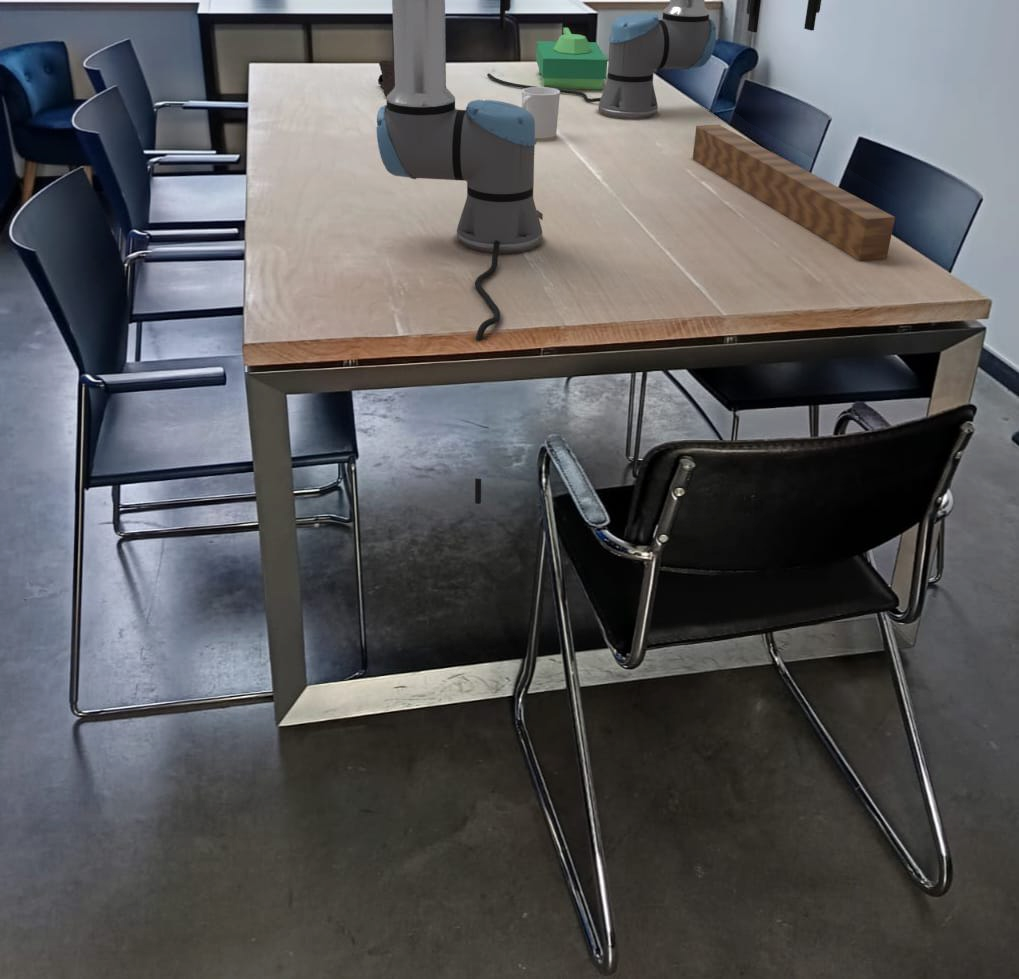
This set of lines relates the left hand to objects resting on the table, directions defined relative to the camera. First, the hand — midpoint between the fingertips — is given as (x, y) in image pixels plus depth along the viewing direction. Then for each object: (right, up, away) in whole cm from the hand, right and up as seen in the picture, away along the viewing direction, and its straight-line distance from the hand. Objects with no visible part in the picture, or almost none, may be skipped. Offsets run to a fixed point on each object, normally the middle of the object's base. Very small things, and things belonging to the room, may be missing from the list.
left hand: (469, 27), depth 224 cm
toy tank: (+25, +25, +94) cm, 101 cm away
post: (+62, -37, -5) cm, 72 cm away
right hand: (+66, +3, +8) cm, 67 cm away
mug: (+15, -11, +35) cm, 40 cm away
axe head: (-21, +15, +76) cm, 80 cm away
